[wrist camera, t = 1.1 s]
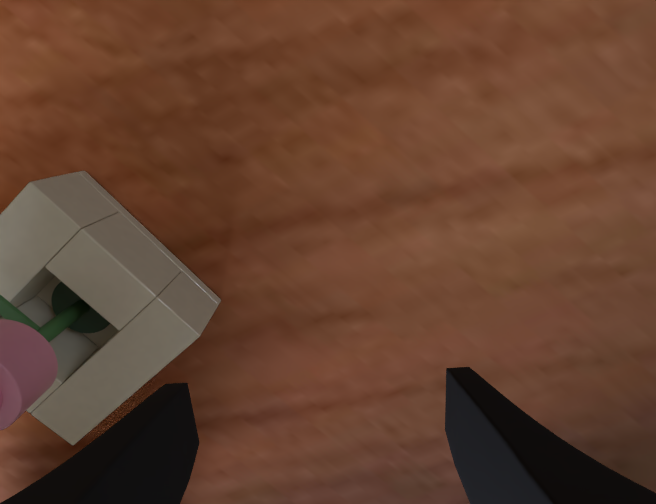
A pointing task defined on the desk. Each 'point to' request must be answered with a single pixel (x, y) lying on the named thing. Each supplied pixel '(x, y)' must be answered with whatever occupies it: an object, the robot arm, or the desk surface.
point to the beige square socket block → (97, 296)
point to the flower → (36, 349)
